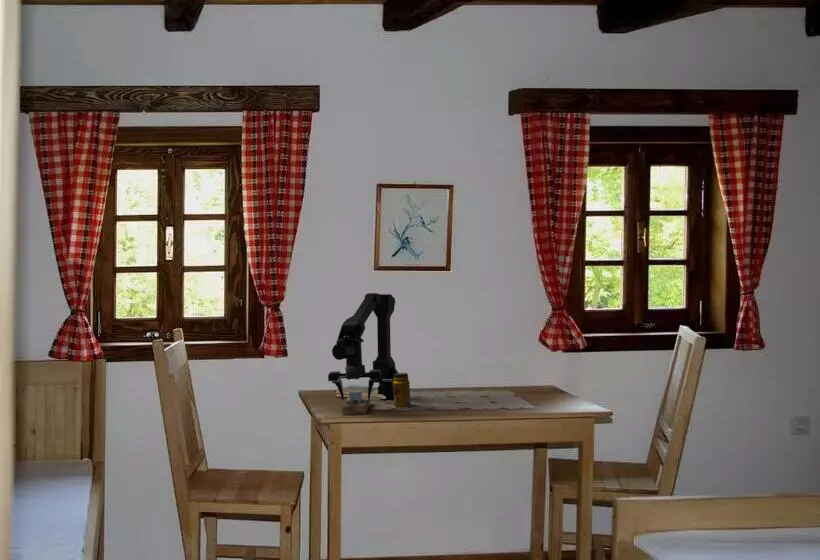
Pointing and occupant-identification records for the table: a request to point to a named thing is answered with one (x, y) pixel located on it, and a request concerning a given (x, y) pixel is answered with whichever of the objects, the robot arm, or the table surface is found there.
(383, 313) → the robot arm
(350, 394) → the clip
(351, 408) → the brown slotted block
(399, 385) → the condiment
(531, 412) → the table surface
